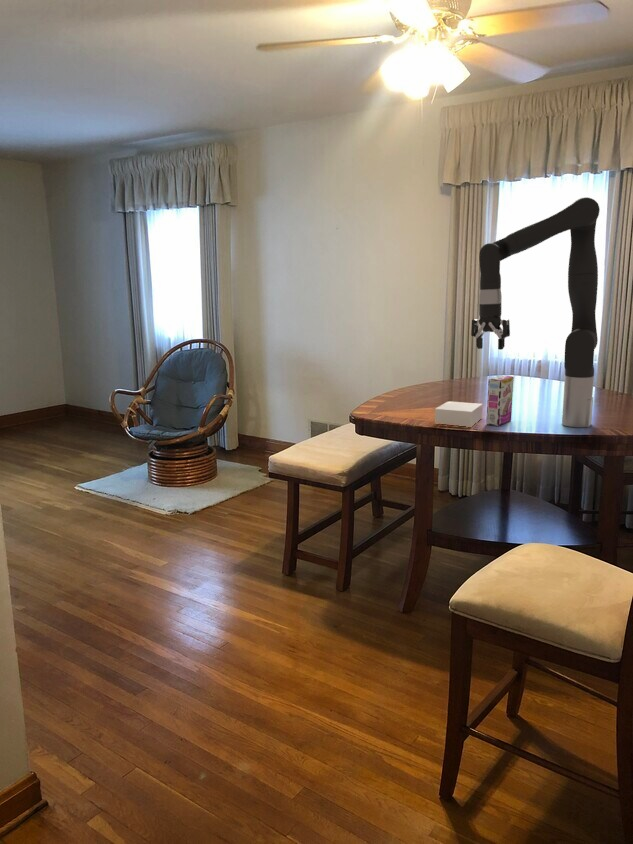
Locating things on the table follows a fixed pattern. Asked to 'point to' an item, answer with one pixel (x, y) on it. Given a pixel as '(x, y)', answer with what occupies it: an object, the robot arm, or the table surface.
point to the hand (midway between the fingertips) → (490, 349)
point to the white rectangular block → (459, 413)
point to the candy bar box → (499, 400)
